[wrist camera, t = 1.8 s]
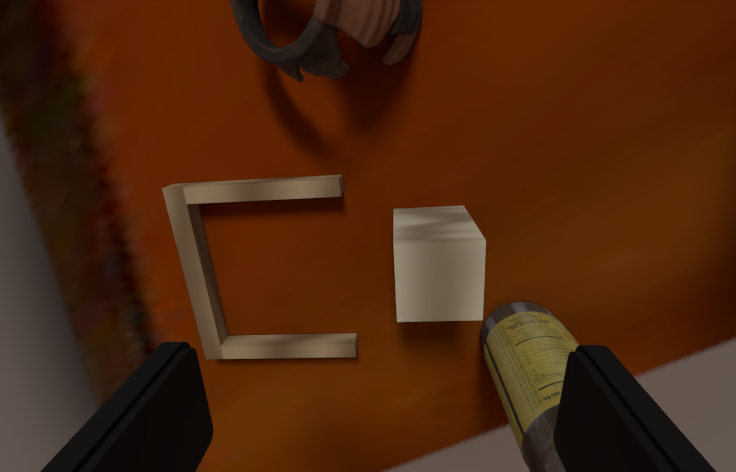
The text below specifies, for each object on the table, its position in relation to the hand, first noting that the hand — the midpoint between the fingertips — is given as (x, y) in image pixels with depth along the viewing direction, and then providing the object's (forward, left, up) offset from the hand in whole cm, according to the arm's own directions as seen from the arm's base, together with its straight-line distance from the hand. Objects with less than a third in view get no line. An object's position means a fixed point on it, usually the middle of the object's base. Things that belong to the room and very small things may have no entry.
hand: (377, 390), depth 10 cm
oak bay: (+9, +5, -19) cm, 21 cm away
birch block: (-3, +3, -19) cm, 19 cm away
